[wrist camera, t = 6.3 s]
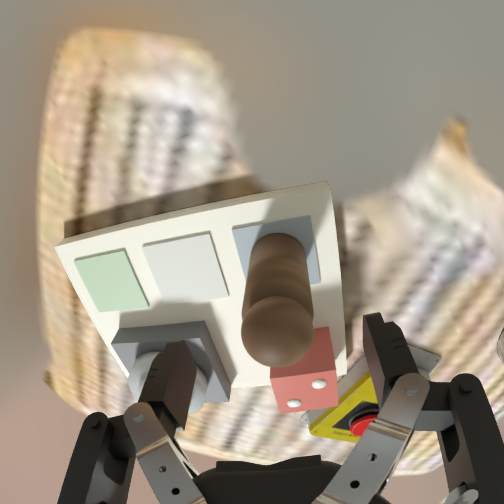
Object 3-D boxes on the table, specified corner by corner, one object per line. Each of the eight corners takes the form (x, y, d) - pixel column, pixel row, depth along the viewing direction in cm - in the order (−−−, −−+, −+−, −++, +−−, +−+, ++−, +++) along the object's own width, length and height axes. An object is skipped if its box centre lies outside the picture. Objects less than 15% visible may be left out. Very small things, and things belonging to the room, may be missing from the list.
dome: (196, 333, 24) (184, 375, 21) (219, 384, 27) (213, 424, 23) (128, 338, 25) (109, 376, 22) (157, 386, 28) (145, 422, 24)
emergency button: (297, 448, 30) (390, 366, 23) (296, 417, 33) (378, 330, 27) (364, 458, 31) (456, 385, 24) (359, 429, 35) (442, 354, 28)
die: (328, 326, 24) (336, 370, 20) (332, 364, 26) (338, 406, 22) (271, 334, 25) (269, 379, 21) (280, 371, 27) (280, 414, 23)
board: (326, 181, 20) (336, 198, 17) (344, 362, 28) (350, 391, 25) (63, 238, 24) (41, 259, 21) (140, 379, 31) (130, 404, 28)
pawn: (301, 228, 20) (314, 320, 12) (308, 276, 22) (321, 378, 14) (245, 237, 21) (225, 331, 13) (256, 284, 22) (245, 386, 14)
